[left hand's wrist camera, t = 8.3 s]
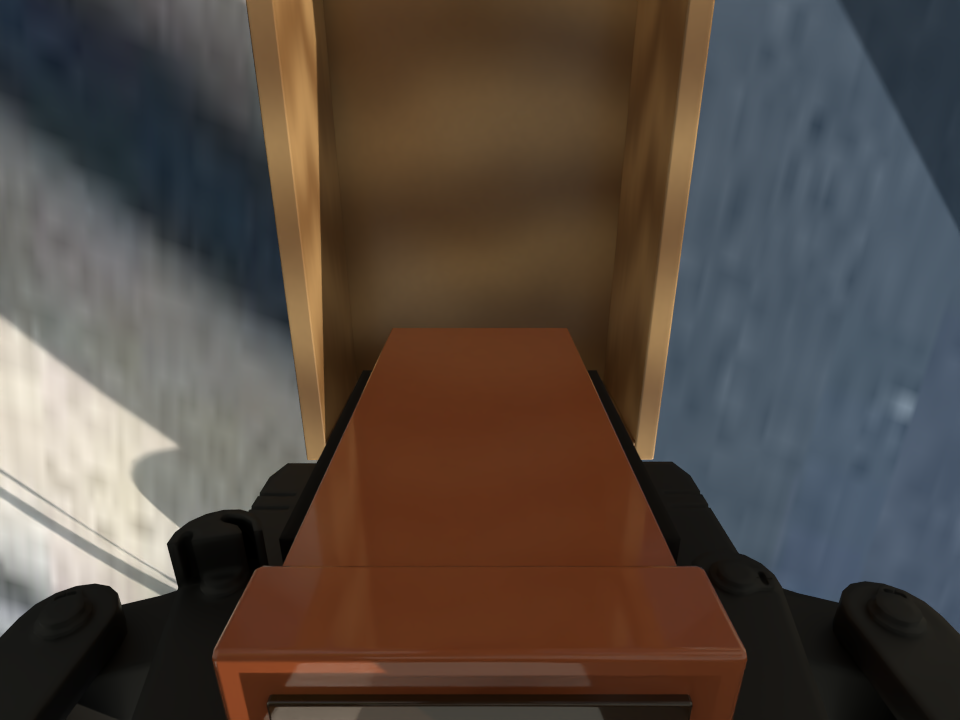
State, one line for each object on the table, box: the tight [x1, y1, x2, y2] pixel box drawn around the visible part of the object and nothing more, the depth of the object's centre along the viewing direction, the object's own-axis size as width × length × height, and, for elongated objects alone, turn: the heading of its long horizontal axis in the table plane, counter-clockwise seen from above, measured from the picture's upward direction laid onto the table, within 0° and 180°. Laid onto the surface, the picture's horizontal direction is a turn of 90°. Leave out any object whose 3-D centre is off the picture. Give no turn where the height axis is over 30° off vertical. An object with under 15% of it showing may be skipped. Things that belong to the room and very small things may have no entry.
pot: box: [212, 328, 747, 720], centre depth 11 cm, size 5×5×10 cm
